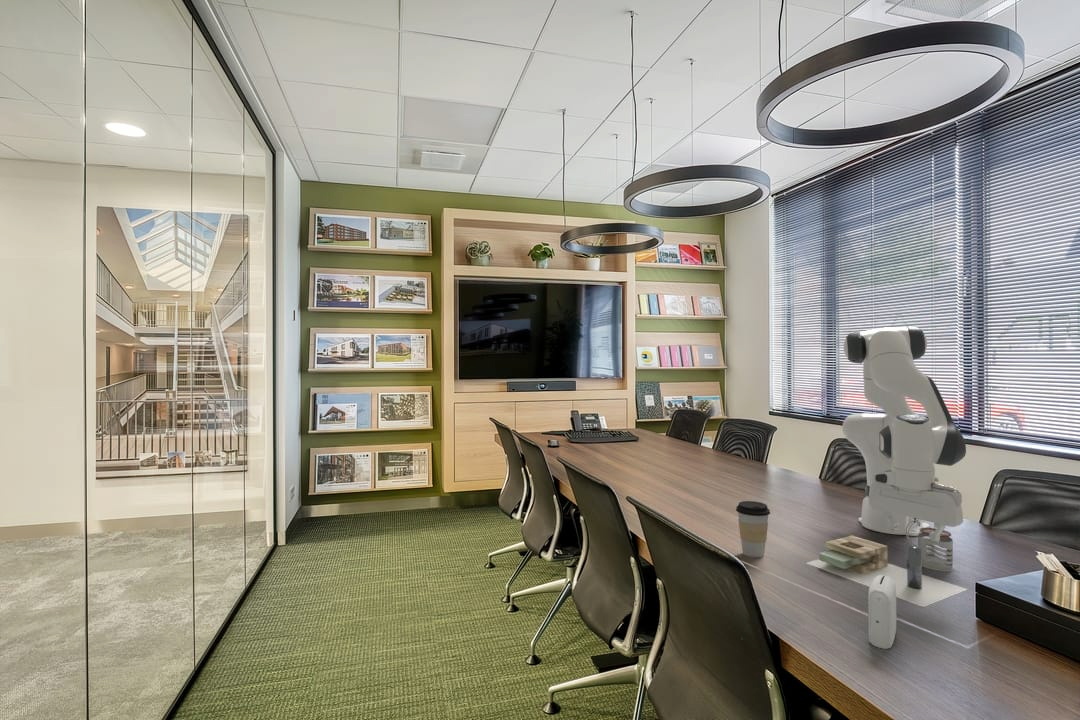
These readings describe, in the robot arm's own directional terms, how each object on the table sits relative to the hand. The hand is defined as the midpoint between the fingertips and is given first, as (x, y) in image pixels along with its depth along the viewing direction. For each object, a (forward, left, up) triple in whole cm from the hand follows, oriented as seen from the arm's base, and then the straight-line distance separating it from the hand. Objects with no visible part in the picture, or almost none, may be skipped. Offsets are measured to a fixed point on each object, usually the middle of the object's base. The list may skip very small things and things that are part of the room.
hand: (913, 534), depth 131 cm
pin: (0, 0, -13) cm, 13 cm away
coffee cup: (+17, -35, -14) cm, 41 cm away
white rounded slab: (+31, +10, -14) cm, 35 cm away
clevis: (0, -16, -13) cm, 21 cm away
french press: (-20, -6, -14) cm, 25 cm away
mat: (0, -8, -14) cm, 16 cm away
